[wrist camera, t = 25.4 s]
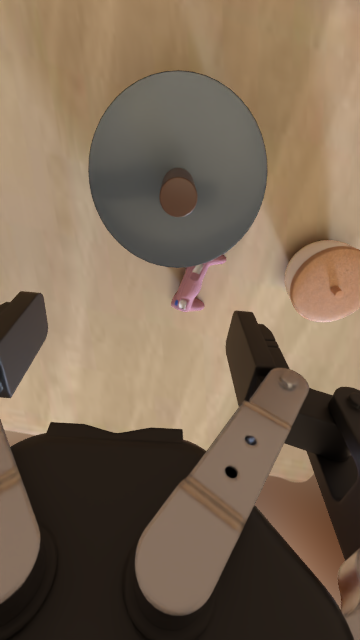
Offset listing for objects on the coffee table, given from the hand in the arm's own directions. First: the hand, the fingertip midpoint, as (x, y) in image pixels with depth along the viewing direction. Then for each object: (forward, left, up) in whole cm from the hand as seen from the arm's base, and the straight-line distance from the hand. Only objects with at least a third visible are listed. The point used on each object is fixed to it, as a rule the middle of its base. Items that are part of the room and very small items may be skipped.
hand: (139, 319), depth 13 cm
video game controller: (+6, -12, -32) cm, 34 cm away
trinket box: (+23, -8, -32) cm, 40 cm away
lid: (+1, +3, -15) cm, 15 cm away
